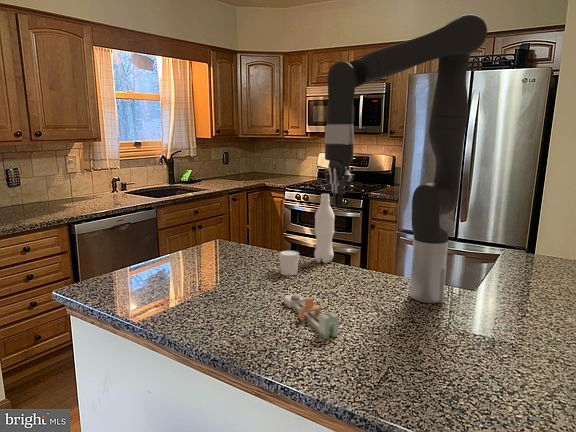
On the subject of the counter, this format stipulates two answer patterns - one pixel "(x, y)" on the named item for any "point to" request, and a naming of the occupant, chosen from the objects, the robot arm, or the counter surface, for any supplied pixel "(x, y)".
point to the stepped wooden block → (309, 308)
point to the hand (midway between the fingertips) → (337, 206)
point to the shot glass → (289, 262)
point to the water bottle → (324, 230)
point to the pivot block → (293, 300)
